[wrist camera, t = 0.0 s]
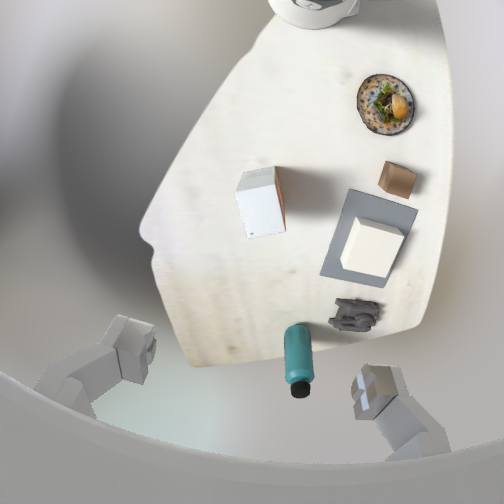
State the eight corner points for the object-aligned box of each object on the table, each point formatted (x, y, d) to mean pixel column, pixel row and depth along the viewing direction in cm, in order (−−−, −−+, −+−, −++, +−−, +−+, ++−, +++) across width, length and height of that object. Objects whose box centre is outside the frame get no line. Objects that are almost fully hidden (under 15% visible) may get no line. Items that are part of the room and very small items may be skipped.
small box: (284, 204, 58) (286, 232, 47) (252, 210, 59) (246, 240, 48) (275, 164, 54) (275, 183, 43) (242, 171, 55) (233, 192, 44)
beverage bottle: (279, 325, 73) (278, 391, 55) (304, 316, 71) (309, 382, 54) (290, 341, 75) (291, 405, 58) (314, 333, 74) (320, 397, 56)
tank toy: (325, 323, 72) (327, 337, 68) (336, 293, 68) (339, 307, 63) (368, 327, 72) (372, 341, 68) (381, 298, 68) (387, 312, 63)
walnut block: (385, 160, 52) (394, 166, 47) (406, 168, 52) (416, 175, 48) (377, 184, 54) (386, 192, 50) (399, 191, 54) (408, 199, 50)
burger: (365, 64, 43) (378, 59, 37) (418, 91, 44) (437, 92, 38) (345, 120, 49) (355, 123, 43) (399, 144, 50) (414, 152, 44)
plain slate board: (349, 188, 55) (349, 189, 55) (416, 209, 56) (417, 210, 55) (319, 274, 65) (319, 275, 64) (382, 287, 65) (382, 288, 65)
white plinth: (355, 216, 57) (360, 224, 54) (397, 228, 58) (404, 236, 54) (340, 258, 62) (343, 268, 59) (380, 267, 62) (385, 277, 59)
